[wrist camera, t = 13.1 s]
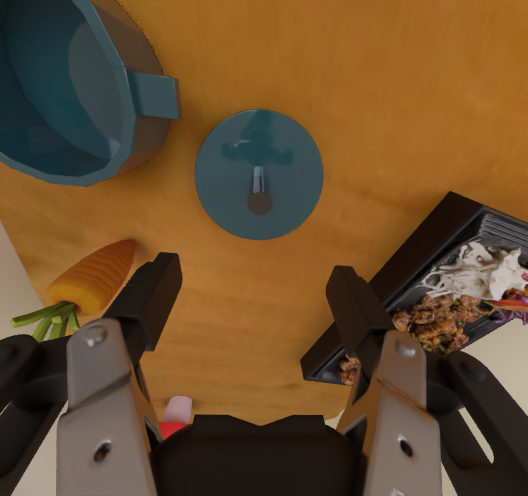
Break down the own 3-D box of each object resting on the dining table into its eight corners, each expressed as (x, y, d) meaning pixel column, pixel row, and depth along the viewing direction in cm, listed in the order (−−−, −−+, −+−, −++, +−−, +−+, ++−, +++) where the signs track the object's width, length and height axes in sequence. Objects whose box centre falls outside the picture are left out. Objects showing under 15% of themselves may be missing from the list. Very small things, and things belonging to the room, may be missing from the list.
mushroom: (205, 401, 63) (196, 455, 53) (181, 408, 66) (168, 460, 56) (180, 390, 57) (164, 448, 48) (155, 399, 61) (135, 454, 51)
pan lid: (190, 100, 19) (166, 96, 14) (337, 119, 20) (364, 121, 15) (202, 231, 27) (189, 259, 22) (305, 239, 28) (315, 267, 23)
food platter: (450, 191, 25) (550, 232, 16) (572, 241, 30) (697, 292, 21) (300, 360, 49) (309, 412, 40) (381, 372, 54) (404, 420, 45)
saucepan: (-91, -57, 14) (-349, -181, 8) (191, -7, 15) (150, -79, 9) (24, 156, 21) (-62, 173, 16) (203, 175, 23) (184, 196, 17)
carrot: (107, 225, 26) (-27, 326, 14) (145, 226, 26) (47, 326, 14) (120, 254, 29) (20, 360, 17) (155, 255, 29) (81, 360, 17)
